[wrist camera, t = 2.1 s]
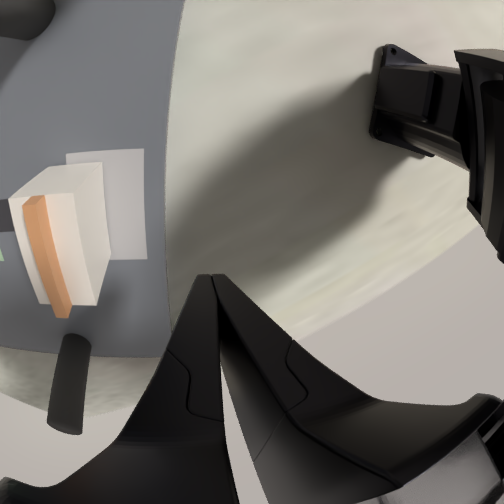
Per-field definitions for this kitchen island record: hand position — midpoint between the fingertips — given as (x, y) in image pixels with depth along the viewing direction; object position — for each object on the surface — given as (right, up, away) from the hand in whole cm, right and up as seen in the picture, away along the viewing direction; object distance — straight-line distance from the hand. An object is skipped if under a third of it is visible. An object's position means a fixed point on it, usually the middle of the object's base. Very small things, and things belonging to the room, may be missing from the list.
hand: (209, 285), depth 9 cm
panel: (-11, +4, +3) cm, 12 cm away
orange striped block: (-7, +3, +3) cm, 9 cm away
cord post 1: (-9, +12, -3) cm, 15 cm away
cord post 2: (-12, -6, +8) cm, 15 cm away
